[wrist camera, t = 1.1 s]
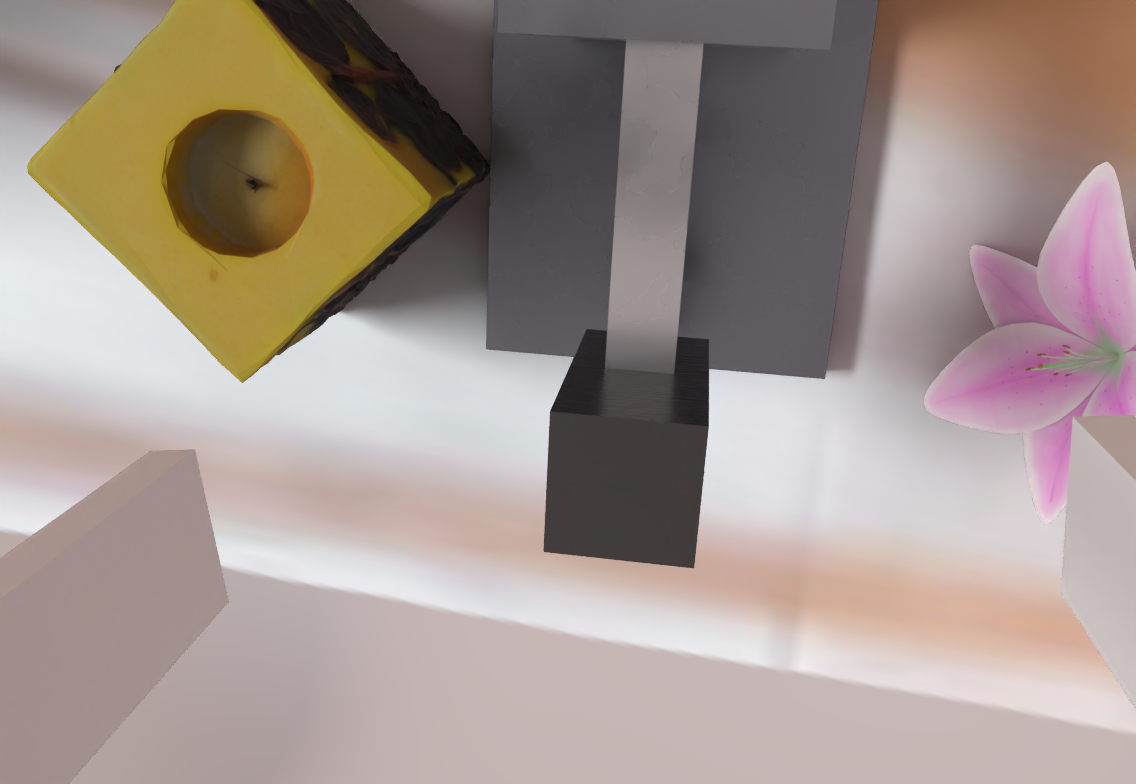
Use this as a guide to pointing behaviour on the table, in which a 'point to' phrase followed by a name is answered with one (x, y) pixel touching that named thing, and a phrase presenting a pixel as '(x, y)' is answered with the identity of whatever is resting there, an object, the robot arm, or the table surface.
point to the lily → (1051, 339)
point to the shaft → (638, 346)
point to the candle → (258, 168)
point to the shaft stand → (719, 178)
